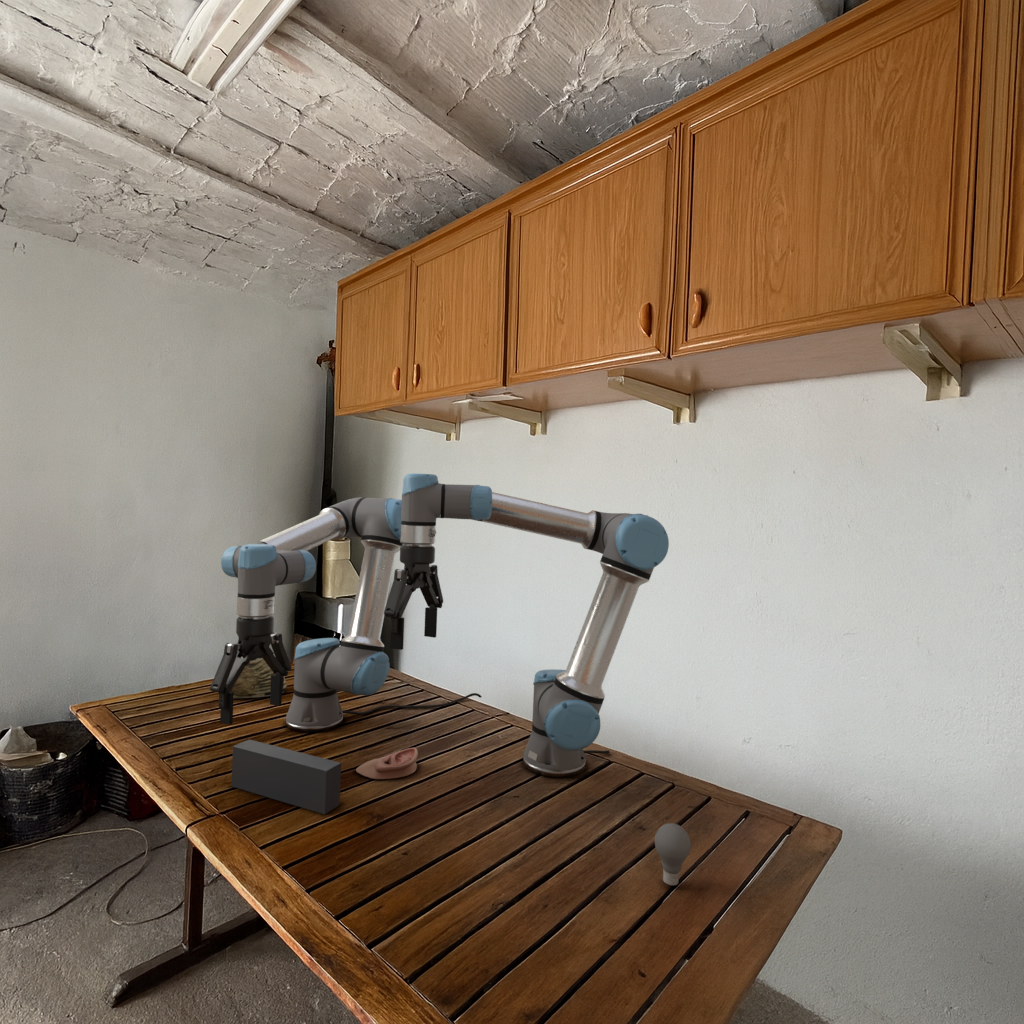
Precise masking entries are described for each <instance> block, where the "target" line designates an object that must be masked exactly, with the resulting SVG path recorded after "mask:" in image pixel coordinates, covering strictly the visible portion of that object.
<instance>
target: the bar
mask: <svg viewBox="0 0 1024 1024" xmlns="http://www.w3.org/2000/svg"><path fill="white" fill-rule="evenodd" d="M341 776H342V763H341V762H339V761H336V760H332V759H327V758H323V757H319V756H315V755H312V754H308V753H304V752H300V751H297V750H292V749H288V748H284V747H281V746H277V745H273V744H269V743H265V742H262V741H261V742H260V741H257V740H254V739H250V738H249V739H247V740H245V741H242V742H240V743H237V744H235V745H233V746H232V763H231V787H232V788H236V789H239V790H241V791H245V792H248V793H252V794H256V795H259V796H262V797H265V798H268V799H272V800H275V801H277V802H282V803H285V804H288V805H292V806H295V807H299V808H301V809H305V810H308V811H311V812H315V813H317V814H321V815H327V814H329V812H331V811H332V810H334V809H336V808H337V807H339V806H340V805H341V802H340V801H341V779H342V778H341Z"/></svg>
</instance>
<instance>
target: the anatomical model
mask: <svg viewBox="0 0 1024 1024" xmlns="http://www.w3.org/2000/svg"><path fill="white" fill-rule="evenodd" d="M418 755H419V751H418V749H417V747H408V748H405V749H404V748H403V749H401V750H397V751H395V752H392V753H390V754H387V755H384V756H381V757H378V758H374V759H371V760H368V761H366V762H364V763H362V764H361V765H359V766H358V767H357V768H356V769H355V771H356V773H357V774H359V775H361V776H363V777H366V778H369V779H372V780H387V779H388V780H390V779H398V778H403V777H406V776H409V775H412V774H414V773H415V772H416V771H417V768H418V764H417V762H416V761H417V759H418Z"/></svg>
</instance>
